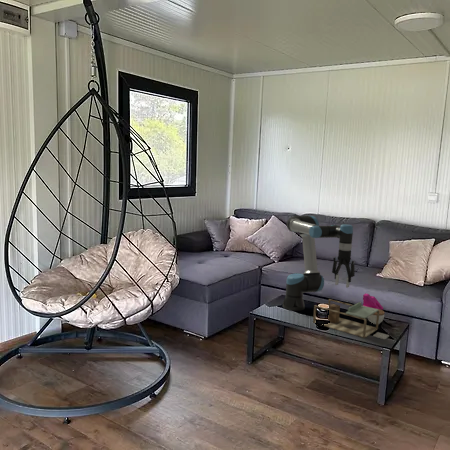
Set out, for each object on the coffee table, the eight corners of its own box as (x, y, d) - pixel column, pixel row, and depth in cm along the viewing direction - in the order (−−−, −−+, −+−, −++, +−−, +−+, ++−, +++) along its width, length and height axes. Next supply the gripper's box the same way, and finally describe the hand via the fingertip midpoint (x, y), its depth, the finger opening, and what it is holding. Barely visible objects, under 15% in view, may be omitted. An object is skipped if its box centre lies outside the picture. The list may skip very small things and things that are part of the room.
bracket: (362, 309, 315) (363, 295, 313) (366, 305, 323) (367, 291, 322) (379, 312, 309) (380, 298, 307) (383, 309, 317) (384, 294, 316)
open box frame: (312, 322, 284) (314, 305, 282) (328, 315, 299) (329, 298, 297) (364, 337, 262) (366, 319, 260) (377, 329, 277) (379, 311, 276)
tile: (373, 336, 265) (373, 335, 265) (377, 333, 271) (377, 332, 271) (384, 339, 261) (384, 338, 261) (389, 336, 266) (389, 335, 266)
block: (328, 321, 285) (329, 305, 284) (331, 319, 289) (332, 303, 288) (335, 323, 282) (336, 307, 281) (338, 321, 286) (340, 305, 284)
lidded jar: (384, 326, 282) (386, 312, 281) (367, 324, 284) (368, 310, 283) (382, 320, 293) (383, 306, 291) (365, 318, 295) (366, 305, 294)
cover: (345, 313, 269) (346, 308, 268) (359, 306, 284) (360, 301, 283) (364, 318, 261) (365, 313, 260) (378, 310, 276) (378, 305, 276)
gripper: (327, 247, 280) (325, 283, 283) (357, 253, 267) (354, 290, 270) (333, 246, 285) (330, 281, 289) (362, 251, 273) (359, 288, 276)
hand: (342, 285), depth 280 cm, fingers open, 7 cm apart
